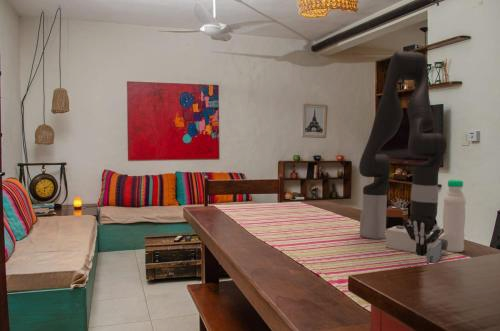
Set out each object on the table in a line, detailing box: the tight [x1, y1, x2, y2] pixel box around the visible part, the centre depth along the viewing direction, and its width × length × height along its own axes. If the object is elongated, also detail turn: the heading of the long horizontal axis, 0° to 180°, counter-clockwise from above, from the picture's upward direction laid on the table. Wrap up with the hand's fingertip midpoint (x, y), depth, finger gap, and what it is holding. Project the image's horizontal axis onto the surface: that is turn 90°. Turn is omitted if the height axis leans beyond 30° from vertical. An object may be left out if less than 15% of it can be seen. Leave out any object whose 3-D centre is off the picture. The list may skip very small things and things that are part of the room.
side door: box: [426, 239, 443, 264], centre depth 126 cm, size 18×1×6 cm, turn 144°
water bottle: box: [442, 179, 467, 253], centre depth 142 cm, size 7×7×25 cm
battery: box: [386, 205, 405, 229], centre depth 178 cm, size 4×7×10 cm, turn 87°
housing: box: [385, 225, 448, 256], centre depth 142 cm, size 19×8×7 cm, turn 49°
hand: (421, 255), depth 123 cm, fingers closed
